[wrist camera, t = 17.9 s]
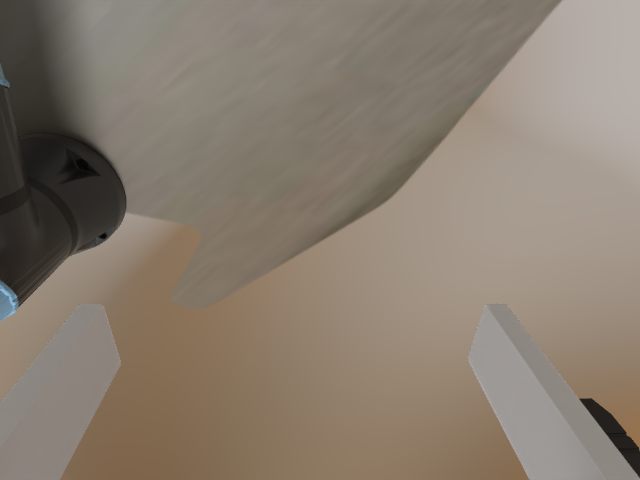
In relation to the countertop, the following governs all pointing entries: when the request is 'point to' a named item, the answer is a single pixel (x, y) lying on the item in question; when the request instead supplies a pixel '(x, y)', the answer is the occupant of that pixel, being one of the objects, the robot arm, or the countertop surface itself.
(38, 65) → the countertop surface
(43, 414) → the robot arm
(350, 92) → the countertop surface
